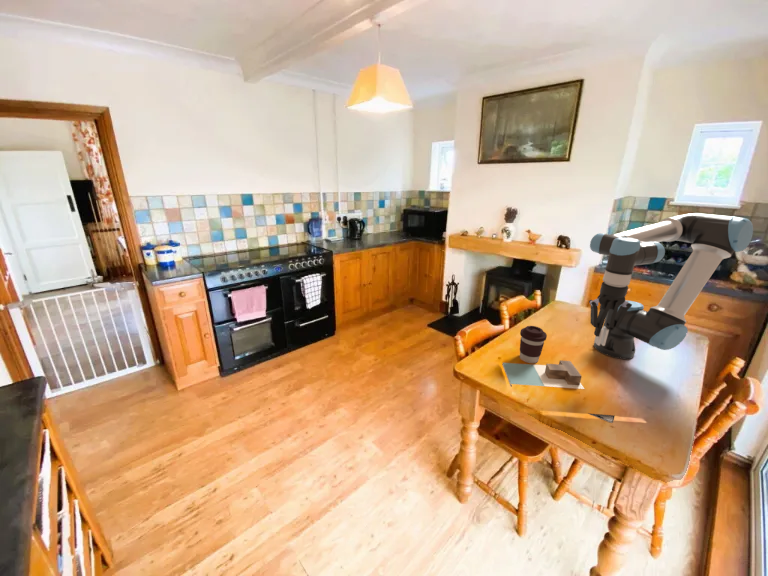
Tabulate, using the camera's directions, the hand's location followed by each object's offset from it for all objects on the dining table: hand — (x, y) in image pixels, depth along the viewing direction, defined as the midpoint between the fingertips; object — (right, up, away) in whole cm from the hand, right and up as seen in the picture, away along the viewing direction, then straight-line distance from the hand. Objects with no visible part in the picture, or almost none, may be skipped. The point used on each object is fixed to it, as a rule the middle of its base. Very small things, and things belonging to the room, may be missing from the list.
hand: (599, 343), depth 118 cm
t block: (-11, -14, +7) cm, 19 cm away
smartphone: (-4, -21, -7) cm, 22 cm away
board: (-18, -15, +8) cm, 24 cm away
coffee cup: (-18, -11, +19) cm, 28 cm away
